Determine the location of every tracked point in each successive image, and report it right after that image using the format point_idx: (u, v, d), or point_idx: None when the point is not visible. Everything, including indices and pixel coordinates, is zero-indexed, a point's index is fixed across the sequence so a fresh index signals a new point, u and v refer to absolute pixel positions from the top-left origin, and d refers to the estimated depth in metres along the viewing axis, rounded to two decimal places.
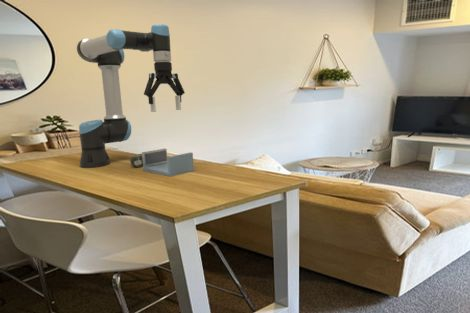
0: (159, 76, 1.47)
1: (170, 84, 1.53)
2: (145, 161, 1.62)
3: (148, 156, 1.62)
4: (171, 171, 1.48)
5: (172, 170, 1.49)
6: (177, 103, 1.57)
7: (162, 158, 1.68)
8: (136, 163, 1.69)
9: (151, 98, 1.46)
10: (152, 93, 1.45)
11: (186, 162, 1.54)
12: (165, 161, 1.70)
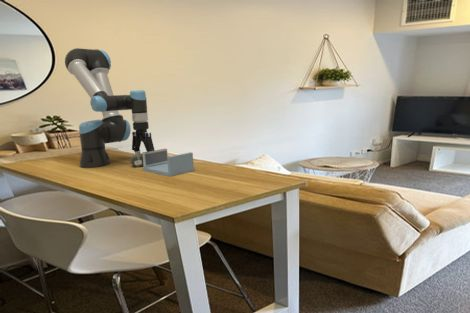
0: (136, 133, 1.73)
1: None
2: (146, 161, 1.61)
3: (149, 156, 1.62)
4: (171, 171, 1.48)
5: (172, 170, 1.49)
6: None
7: (163, 158, 1.68)
8: (136, 163, 1.70)
9: None
10: (134, 149, 1.76)
11: (186, 162, 1.54)
12: (166, 161, 1.70)
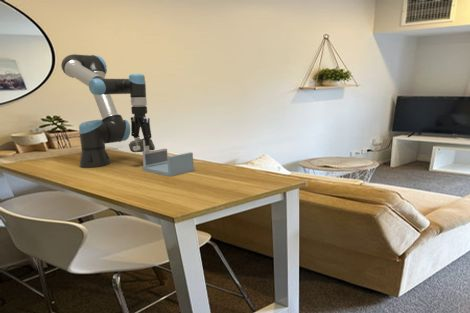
0: (134, 118, 1.72)
1: None
2: (146, 161, 1.61)
3: (149, 156, 1.62)
4: (171, 171, 1.48)
5: (172, 170, 1.49)
6: None
7: (163, 158, 1.68)
8: (135, 148, 1.69)
9: None
10: (133, 135, 1.74)
11: (186, 162, 1.54)
12: (166, 161, 1.70)
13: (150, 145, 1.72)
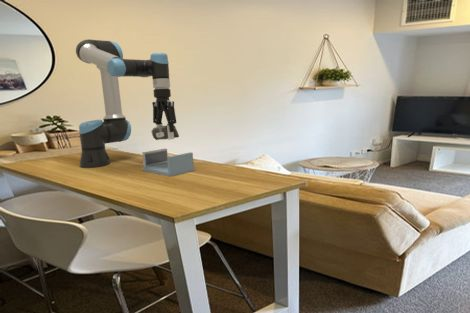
0: (157, 102, 1.56)
1: None
2: (146, 161, 1.61)
3: (149, 156, 1.62)
4: (171, 171, 1.48)
5: (172, 170, 1.49)
6: None
7: (163, 158, 1.68)
8: (158, 135, 1.53)
9: (157, 126, 1.60)
10: (156, 121, 1.59)
11: (186, 162, 1.54)
12: (166, 161, 1.70)
13: (174, 131, 1.56)
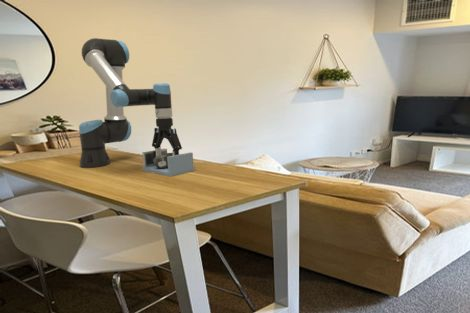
0: (159, 131, 1.58)
1: None
2: (145, 161, 1.61)
3: (149, 156, 1.62)
4: (171, 171, 1.48)
5: (172, 170, 1.49)
6: None
7: None
8: (160, 164, 1.56)
9: None
10: (155, 145, 1.63)
11: (186, 162, 1.54)
12: None
13: None
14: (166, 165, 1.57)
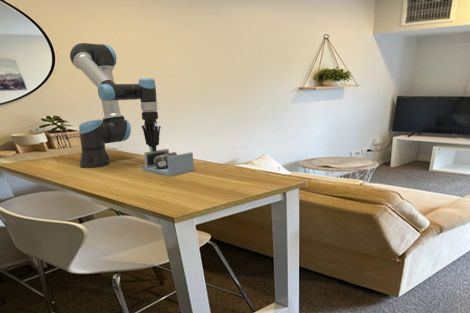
0: (145, 124, 1.66)
1: None
2: (147, 161, 1.60)
3: (150, 157, 1.61)
4: (171, 171, 1.48)
5: (172, 170, 1.49)
6: None
7: None
8: (160, 164, 1.56)
9: (150, 147, 1.67)
10: (148, 143, 1.66)
11: (186, 162, 1.54)
12: None
13: None
14: (166, 165, 1.57)
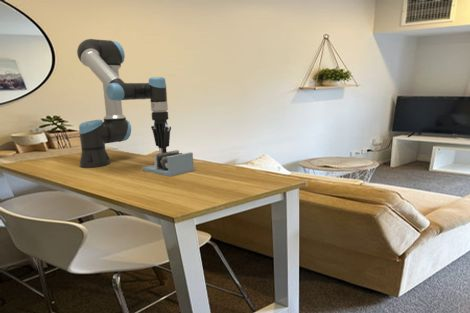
0: (155, 124, 1.60)
1: None
2: (157, 163, 1.55)
3: (160, 158, 1.56)
4: (171, 171, 1.48)
5: (172, 170, 1.49)
6: None
7: None
8: (167, 165, 1.53)
9: None
10: (158, 144, 1.61)
11: (186, 162, 1.54)
12: None
13: None
14: None
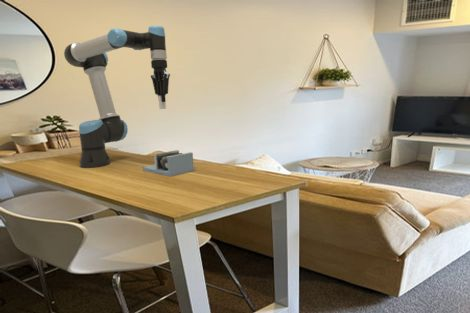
0: None
1: None
2: (157, 163, 1.55)
3: (160, 158, 1.56)
4: (171, 171, 1.48)
5: (172, 170, 1.49)
6: None
7: None
8: (167, 165, 1.53)
9: (159, 97, 1.69)
10: (157, 92, 1.68)
11: (186, 162, 1.54)
12: None
13: None
14: None
